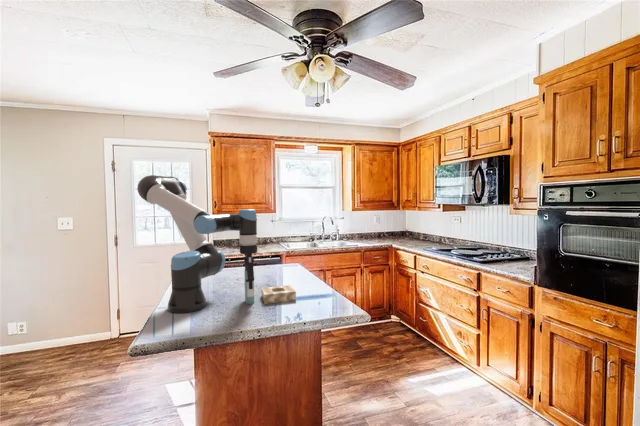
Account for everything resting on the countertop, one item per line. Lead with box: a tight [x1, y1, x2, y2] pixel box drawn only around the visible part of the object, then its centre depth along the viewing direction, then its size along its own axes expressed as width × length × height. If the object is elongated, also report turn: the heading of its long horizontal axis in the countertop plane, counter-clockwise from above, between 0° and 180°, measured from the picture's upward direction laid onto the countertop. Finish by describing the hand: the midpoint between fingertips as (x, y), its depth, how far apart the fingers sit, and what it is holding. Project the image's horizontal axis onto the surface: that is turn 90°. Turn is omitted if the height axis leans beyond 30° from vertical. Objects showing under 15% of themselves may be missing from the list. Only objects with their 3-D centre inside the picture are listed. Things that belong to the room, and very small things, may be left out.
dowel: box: [244, 270, 255, 305], centre depth 140 cm, size 4×4×14 cm
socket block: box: [260, 284, 297, 305], centre depth 146 cm, size 14×12×4 cm
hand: (249, 292), depth 140 cm, fingers open, 13 cm apart
